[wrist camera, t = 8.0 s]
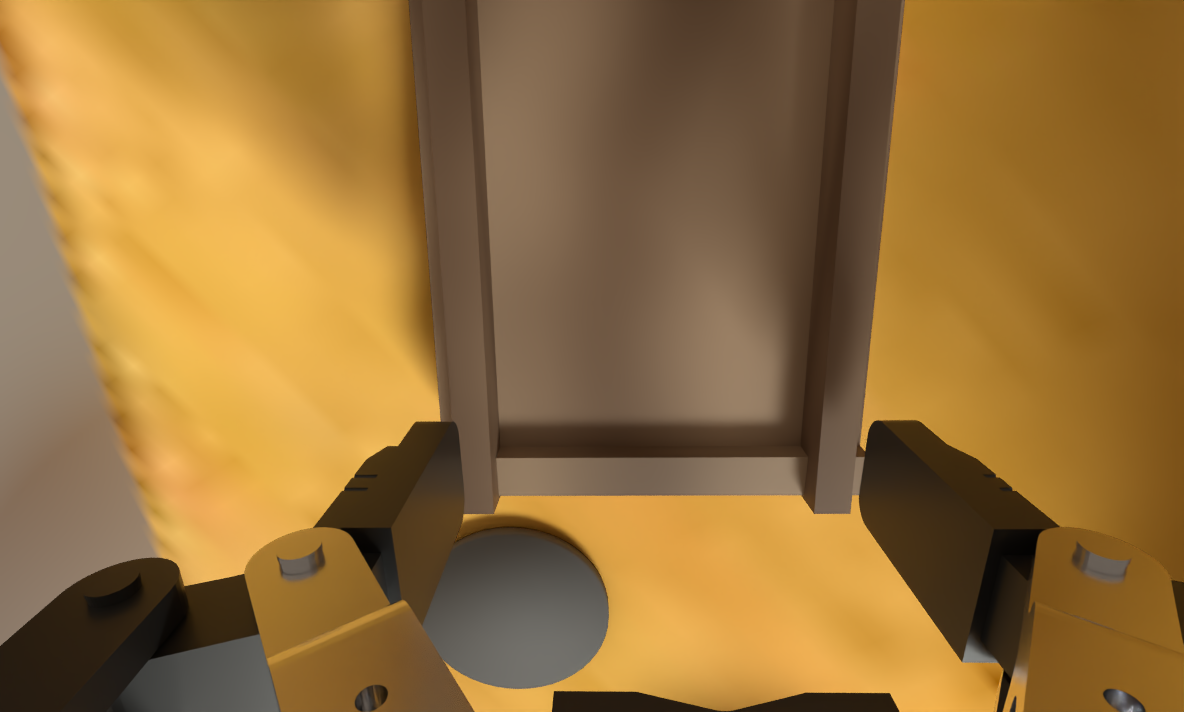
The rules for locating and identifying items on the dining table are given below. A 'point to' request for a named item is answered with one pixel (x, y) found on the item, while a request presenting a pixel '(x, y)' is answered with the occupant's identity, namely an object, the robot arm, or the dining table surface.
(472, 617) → the coaster
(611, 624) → the dining table surface
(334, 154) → the dining table surface
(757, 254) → the walnut ramp
